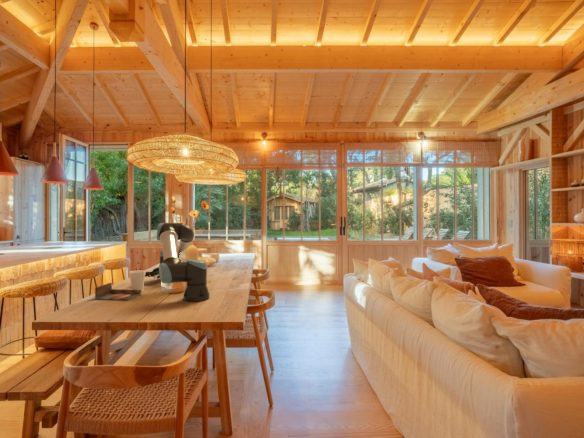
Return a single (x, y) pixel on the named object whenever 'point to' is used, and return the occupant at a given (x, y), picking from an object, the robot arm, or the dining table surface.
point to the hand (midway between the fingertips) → (144, 277)
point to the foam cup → (137, 279)
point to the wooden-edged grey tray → (115, 293)
